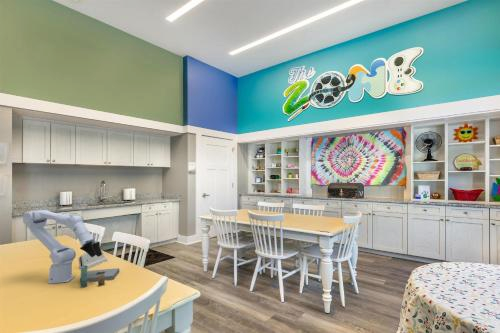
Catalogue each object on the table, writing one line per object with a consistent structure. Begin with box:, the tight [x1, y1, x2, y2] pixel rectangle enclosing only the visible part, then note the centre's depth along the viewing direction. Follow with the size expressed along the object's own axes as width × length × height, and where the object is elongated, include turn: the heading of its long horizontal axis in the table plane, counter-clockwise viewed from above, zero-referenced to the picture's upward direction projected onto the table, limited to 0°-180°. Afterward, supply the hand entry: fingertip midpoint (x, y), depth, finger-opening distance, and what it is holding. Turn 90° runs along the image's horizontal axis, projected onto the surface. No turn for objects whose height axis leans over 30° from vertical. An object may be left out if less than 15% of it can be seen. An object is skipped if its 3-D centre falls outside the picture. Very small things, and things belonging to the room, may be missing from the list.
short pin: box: [97, 275, 106, 287], centre depth 131 cm, size 3×3×4 cm
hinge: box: [78, 249, 108, 270], centre depth 162 cm, size 17×5×10 cm, turn 166°
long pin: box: [80, 266, 88, 289], centre depth 129 cm, size 3×3×10 cm
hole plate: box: [79, 267, 120, 284], centre depth 142 cm, size 16×12×2 cm
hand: (97, 255), depth 134 cm, fingers open, 7 cm apart
